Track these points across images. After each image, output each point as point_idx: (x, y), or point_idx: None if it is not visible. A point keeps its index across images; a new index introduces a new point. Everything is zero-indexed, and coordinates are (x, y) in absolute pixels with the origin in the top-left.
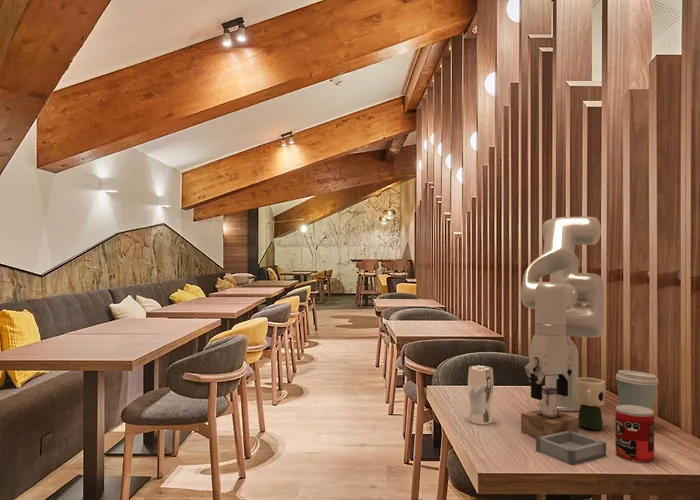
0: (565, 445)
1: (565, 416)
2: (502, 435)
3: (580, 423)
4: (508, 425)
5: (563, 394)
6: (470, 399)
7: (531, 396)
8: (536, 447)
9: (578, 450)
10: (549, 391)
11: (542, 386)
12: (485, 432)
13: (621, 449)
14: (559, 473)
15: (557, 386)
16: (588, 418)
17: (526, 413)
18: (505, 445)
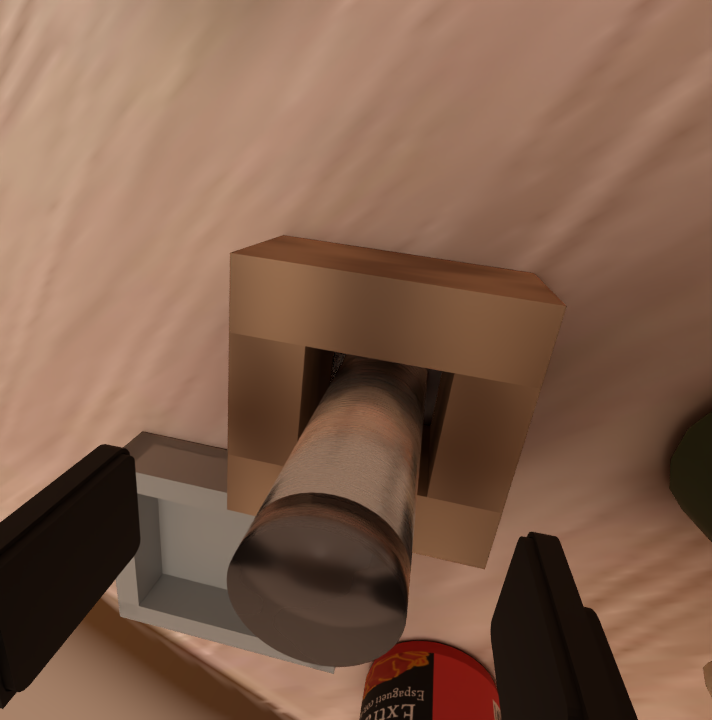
0: None
1: (452, 499)
2: (144, 200)
3: (692, 444)
4: (334, 73)
5: (499, 614)
6: None
7: (100, 453)
8: (133, 441)
9: (157, 623)
10: (246, 611)
11: (39, 672)
12: (86, 91)
13: (363, 695)
14: None
15: (537, 623)
16: (707, 524)
17: (266, 282)
18: (59, 311)
